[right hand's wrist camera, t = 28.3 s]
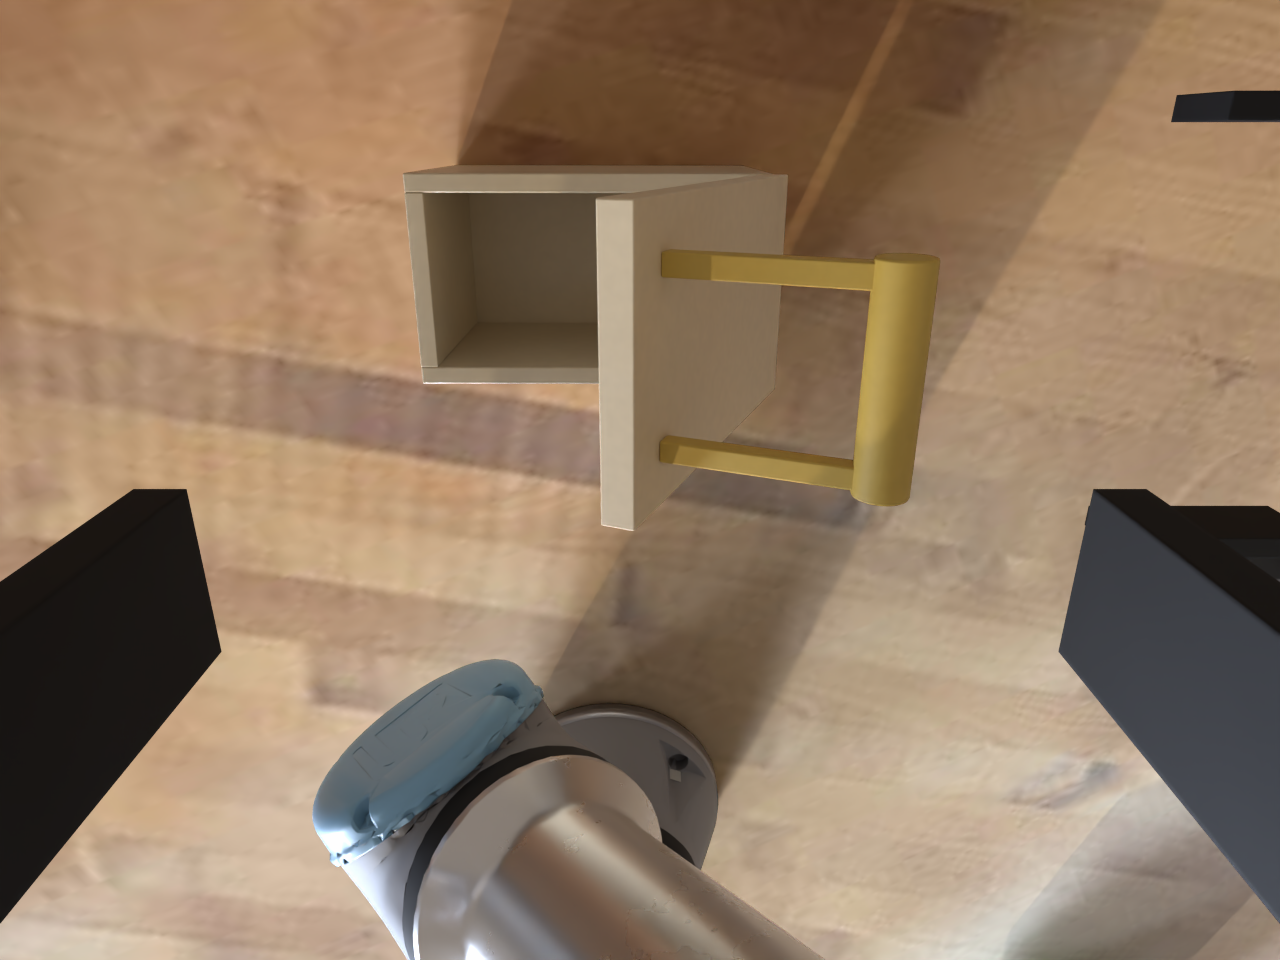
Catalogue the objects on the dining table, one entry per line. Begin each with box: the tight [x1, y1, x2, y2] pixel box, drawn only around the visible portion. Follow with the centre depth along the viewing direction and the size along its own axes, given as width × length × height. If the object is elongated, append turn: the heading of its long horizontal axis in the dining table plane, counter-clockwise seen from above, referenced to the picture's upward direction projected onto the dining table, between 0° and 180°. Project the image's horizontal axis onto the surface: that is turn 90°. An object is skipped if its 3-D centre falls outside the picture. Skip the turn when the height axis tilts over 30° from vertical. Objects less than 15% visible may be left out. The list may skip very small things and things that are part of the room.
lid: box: [596, 174, 940, 531], centre depth 29 cm, size 16×9×8 cm
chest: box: [403, 165, 771, 384], centre depth 43 cm, size 16×9×11 cm, turn 90°
